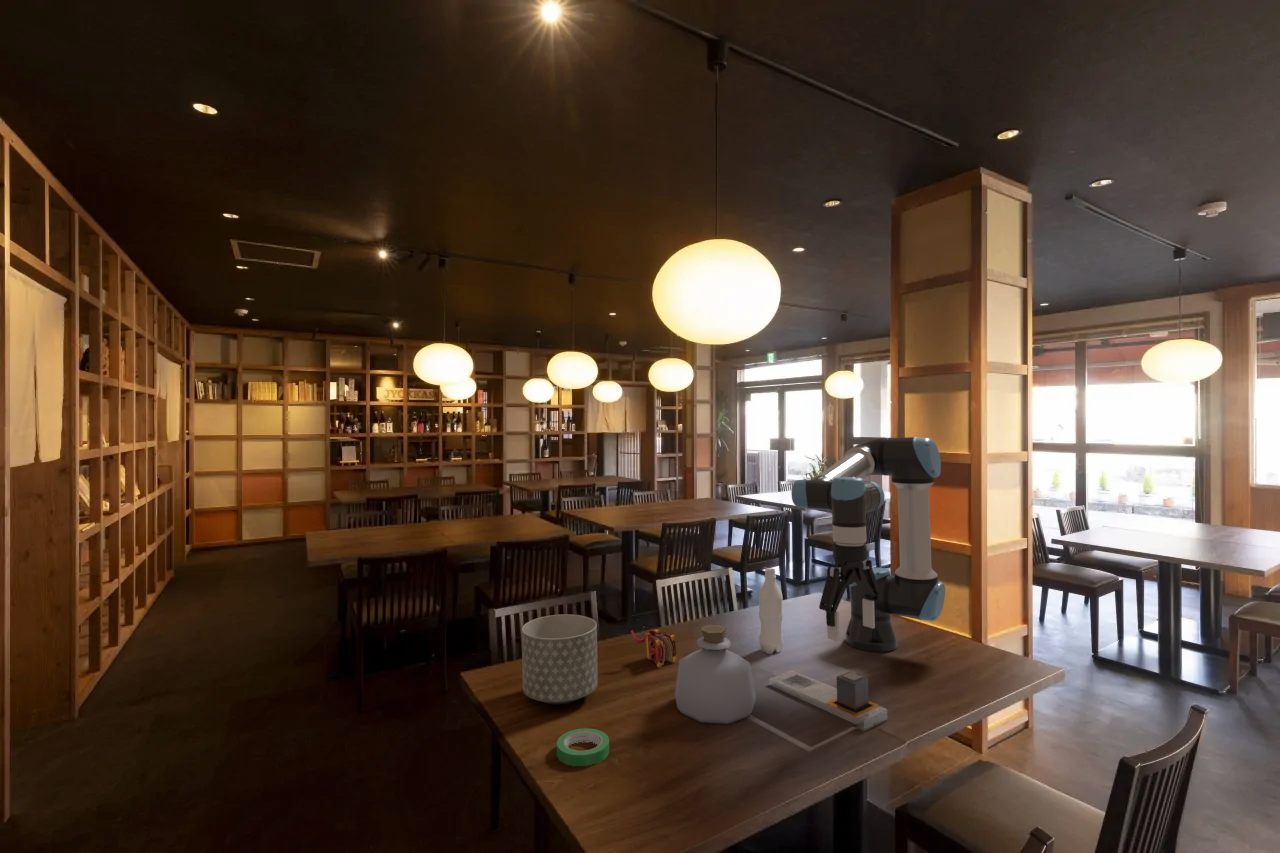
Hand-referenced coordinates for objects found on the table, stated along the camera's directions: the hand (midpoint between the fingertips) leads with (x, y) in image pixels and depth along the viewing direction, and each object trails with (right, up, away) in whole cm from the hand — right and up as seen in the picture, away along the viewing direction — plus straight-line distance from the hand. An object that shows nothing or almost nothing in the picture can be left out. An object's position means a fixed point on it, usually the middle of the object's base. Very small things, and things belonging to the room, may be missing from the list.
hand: (851, 633), depth 137 cm
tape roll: (-62, -20, -14) cm, 67 cm away
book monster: (-46, -21, +33) cm, 61 cm away
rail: (-4, -19, +6) cm, 21 cm away
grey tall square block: (0, -18, 0) cm, 18 cm away
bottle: (-32, -20, +5) cm, 38 cm away
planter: (-70, -21, +11) cm, 74 cm away
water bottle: (-10, -20, +40) cm, 46 cm away
